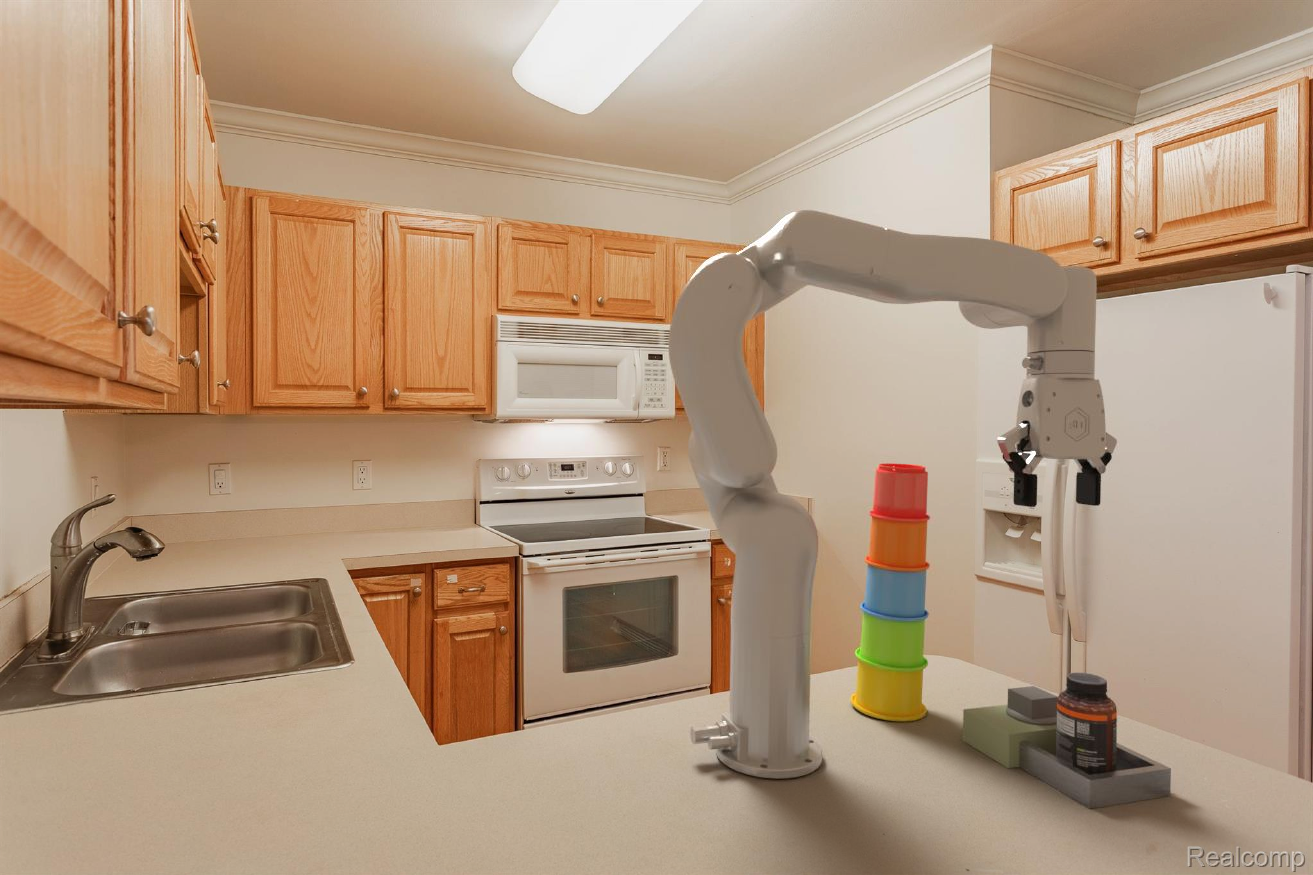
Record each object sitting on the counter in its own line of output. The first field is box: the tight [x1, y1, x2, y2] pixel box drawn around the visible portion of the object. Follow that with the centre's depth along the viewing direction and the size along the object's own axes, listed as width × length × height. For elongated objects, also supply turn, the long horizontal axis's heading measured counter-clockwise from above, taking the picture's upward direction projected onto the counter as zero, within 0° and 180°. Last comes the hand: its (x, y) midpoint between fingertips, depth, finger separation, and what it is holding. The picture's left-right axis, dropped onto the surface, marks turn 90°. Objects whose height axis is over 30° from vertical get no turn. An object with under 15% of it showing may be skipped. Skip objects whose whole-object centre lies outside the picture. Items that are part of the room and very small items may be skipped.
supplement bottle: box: [1057, 672, 1118, 775], centre depth 86 cm, size 6×6×11 cm
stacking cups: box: [850, 462, 931, 723], centre depth 106 cm, size 10×10×35 cm
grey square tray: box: [1018, 741, 1172, 810], centre depth 85 cm, size 11×10×3 cm
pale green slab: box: [962, 685, 1058, 769], centre depth 94 cm, size 14×8×7 cm, turn 106°
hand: (1056, 505), depth 94 cm, fingers open, 9 cm apart
